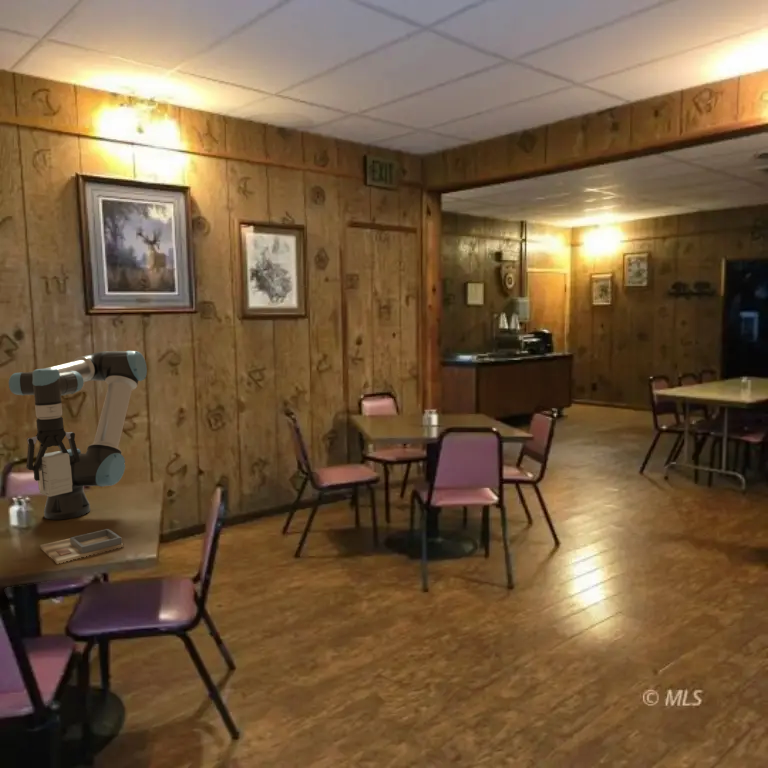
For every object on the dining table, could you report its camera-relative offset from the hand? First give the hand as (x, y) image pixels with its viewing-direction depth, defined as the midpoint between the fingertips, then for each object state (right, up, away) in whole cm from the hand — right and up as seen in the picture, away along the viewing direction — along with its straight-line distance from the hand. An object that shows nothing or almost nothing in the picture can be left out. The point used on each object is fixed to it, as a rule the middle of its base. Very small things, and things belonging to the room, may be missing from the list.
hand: (55, 487), depth 208 cm
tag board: (+12, -18, -7) cm, 22 cm away
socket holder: (+16, -18, -6) cm, 24 cm away
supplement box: (0, -2, 0) cm, 2 cm away
